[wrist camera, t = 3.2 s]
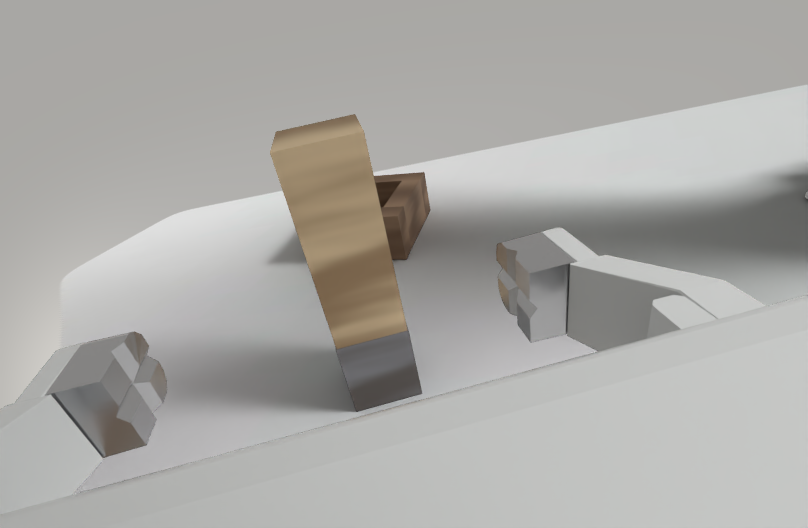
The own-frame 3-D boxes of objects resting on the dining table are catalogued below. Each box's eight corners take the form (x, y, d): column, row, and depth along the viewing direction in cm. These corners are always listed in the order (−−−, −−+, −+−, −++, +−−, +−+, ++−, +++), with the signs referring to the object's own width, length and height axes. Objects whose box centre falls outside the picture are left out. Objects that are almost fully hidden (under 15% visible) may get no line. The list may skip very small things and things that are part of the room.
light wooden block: (422, 393, 26) (365, 131, 18) (356, 411, 26) (268, 153, 18) (408, 349, 30) (355, 113, 22) (350, 365, 30) (275, 131, 21)
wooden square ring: (406, 259, 40) (397, 216, 38) (307, 260, 44) (294, 220, 41) (430, 210, 49) (424, 172, 46) (345, 214, 52) (336, 178, 50)
